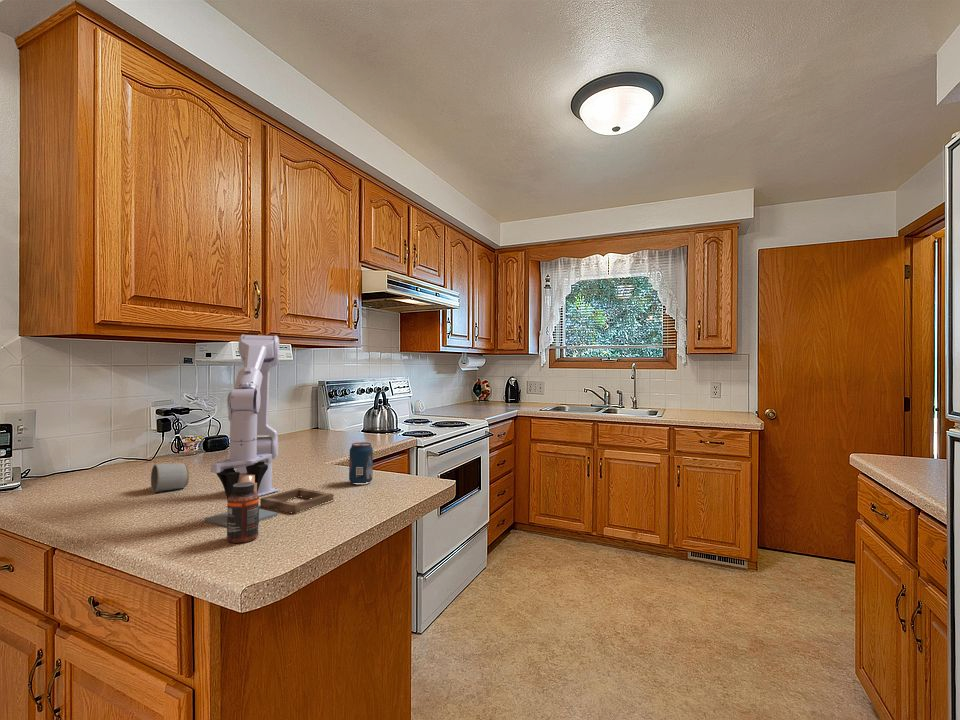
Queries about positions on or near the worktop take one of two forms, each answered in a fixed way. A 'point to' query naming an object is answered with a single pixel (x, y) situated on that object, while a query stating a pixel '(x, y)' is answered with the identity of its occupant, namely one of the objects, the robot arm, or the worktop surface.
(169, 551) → the worktop surface
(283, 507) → the frame
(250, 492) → the supplement bottle
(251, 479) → the peach capsule with nub
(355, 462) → the soda can
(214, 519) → the mat
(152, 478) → the grey cylinder
